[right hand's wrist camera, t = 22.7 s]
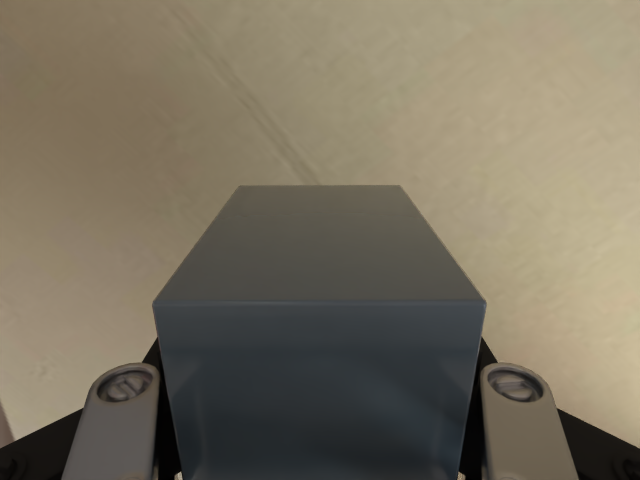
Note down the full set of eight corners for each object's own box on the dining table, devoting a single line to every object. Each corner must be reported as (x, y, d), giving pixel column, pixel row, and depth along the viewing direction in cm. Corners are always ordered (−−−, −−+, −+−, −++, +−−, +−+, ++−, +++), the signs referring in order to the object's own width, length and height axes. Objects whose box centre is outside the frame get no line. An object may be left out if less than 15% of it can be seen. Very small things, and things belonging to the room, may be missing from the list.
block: (252, 368, 15) (200, 590, 9) (238, 185, 13) (149, 302, 6) (388, 368, 15) (440, 590, 9) (401, 184, 13) (489, 302, 6)
